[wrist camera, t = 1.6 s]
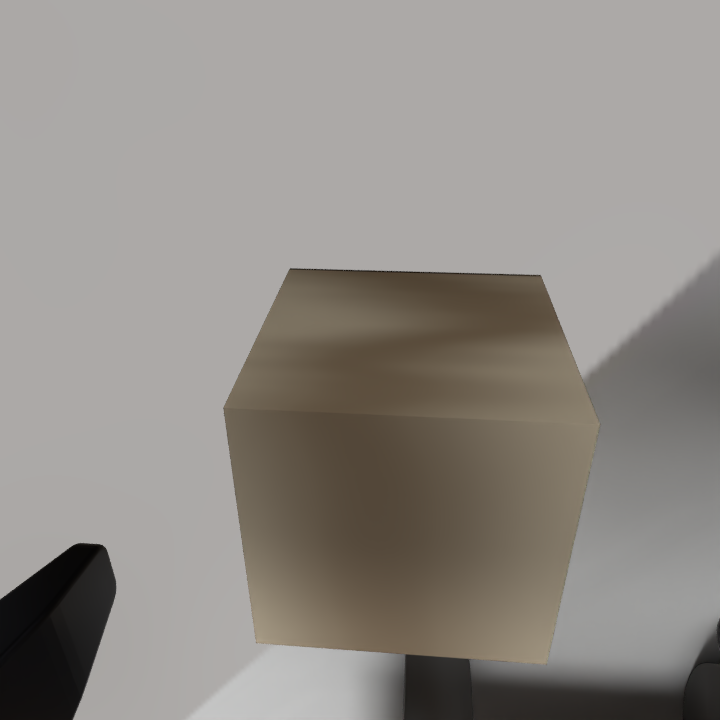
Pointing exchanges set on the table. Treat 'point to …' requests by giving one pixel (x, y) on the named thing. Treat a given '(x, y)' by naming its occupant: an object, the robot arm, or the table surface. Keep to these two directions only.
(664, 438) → the table surface
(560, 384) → the beige cube
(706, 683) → the trolley
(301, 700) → the table surface
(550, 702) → the table surface
